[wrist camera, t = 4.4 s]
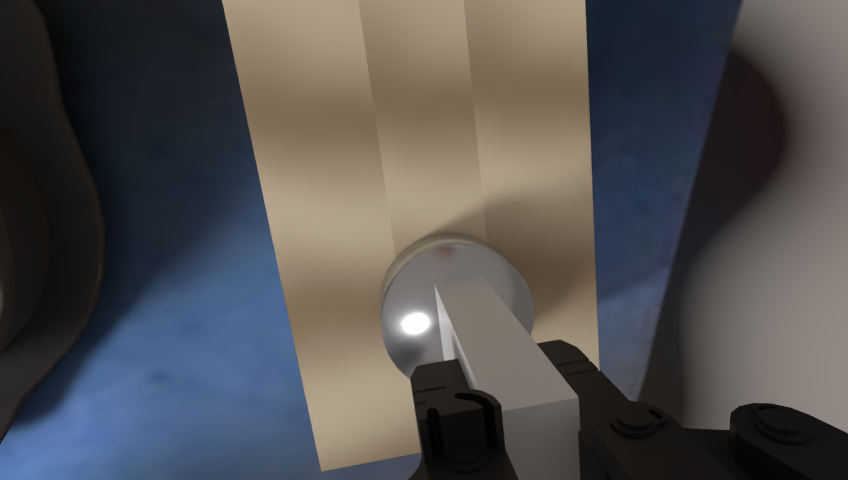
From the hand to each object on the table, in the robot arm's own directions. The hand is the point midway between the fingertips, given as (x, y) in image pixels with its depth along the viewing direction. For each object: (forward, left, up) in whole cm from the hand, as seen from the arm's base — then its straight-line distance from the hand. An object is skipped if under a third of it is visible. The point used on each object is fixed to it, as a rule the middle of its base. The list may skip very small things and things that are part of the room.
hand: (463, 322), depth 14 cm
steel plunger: (0, 0, -10) cm, 10 cm away
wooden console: (+6, 0, -10) cm, 12 cm away
